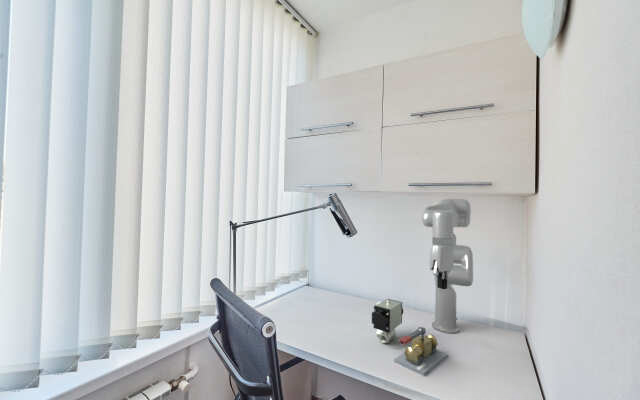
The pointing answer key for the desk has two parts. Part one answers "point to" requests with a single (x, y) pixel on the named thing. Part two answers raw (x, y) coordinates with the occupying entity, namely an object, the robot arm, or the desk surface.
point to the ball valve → (387, 319)
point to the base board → (427, 362)
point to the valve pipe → (420, 348)
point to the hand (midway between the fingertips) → (442, 288)
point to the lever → (412, 336)
